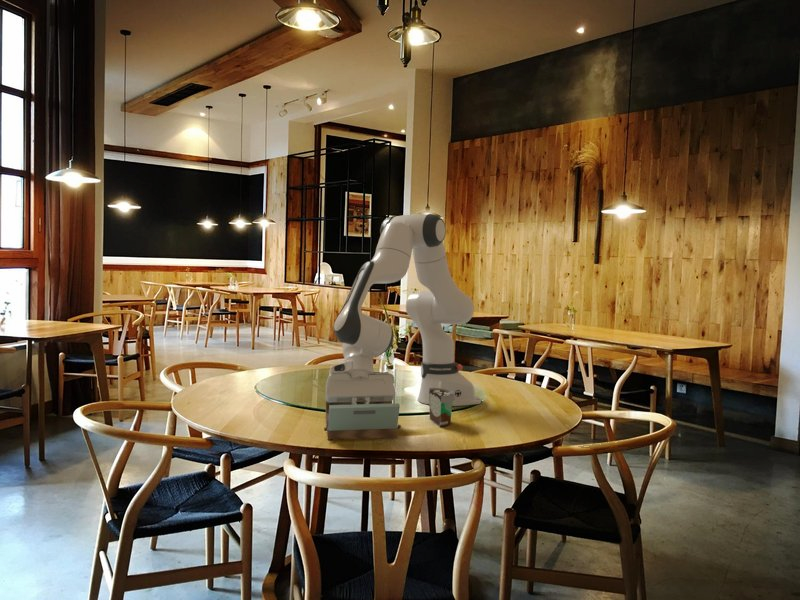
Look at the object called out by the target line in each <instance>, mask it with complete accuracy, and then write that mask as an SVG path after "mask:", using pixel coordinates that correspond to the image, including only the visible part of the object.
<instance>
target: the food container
mask: <svg viewBox="0 0 800 600" xmlns="http://www.w3.org/2000/svg"><path fill="white" fill-rule="evenodd" d="M454 400H455V397H454V394H453V392H452V391H451V390H448V389H442V388H429V401H430V404H429V420H430V421H431V422H432V423H433V424H435V425H436V426H437V427H439V428H445V427H449V426H451V422H452V419H451V418H452V409H453V406H452V402H453V401H454Z"/></svg>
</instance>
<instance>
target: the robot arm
mask: <svg viewBox="0 0 800 600" xmlns="http://www.w3.org/2000/svg"><path fill="white" fill-rule="evenodd" d="M446 231H447V230H446V224H445V221H444V219H443V218H442V217H441V216H440V215H437V214H433V213H428V214H424V213H411V214H403V215H393V216H389V217H386V218H385V219H384V220H383V221H382V222H381V225H380V228H379V234H380V236H379V239H378V243H377V245H376V248H375V253H374V255H373V257H372V259H371V260H370V261H366V262H364V264H362V265H361V267H360V269H359V271H358V272H357V275H356V277H355V279H354V281H353V283H352V285H351V288H350V290H349V293H348V295H347V297H346V299H345V301H344V303H343V306H342V307H341V310H340V312H339V313H338V314H337V317H336V318H335V321H334V324H333V332H334V335H335V337H336V339H337V340H338V341H339V342H340V343H342V355H343V358H344V360H343V362H342V363H338V364H335V365H332V366H330V369H329V373H328V377H327V379H326V383H325V390H324V391H325V394H324V395H325V396H324V399H325V402H326V401H327V402H329V403H330V402H352V405H356V404H357V402H365V404H370V402H380V401H392V402H393V400H394V399H395V398H396V390H395V377H394V375H393V374H392V373H389V372H388V371H385V372H384V371H383V372H382V371H375V370H374V362H373V359H374V358H377V357H379V356H381V355H383V354H384V353H385V352H387V351H389V349H391V347H392V346H393V343H394V330H393V327H392V325H391V324H389V323H388V322H385V321H384V320H380V319H378V318H375V317H372V316H369V315H367V314H366V313H365V314H364V313H363V311H362V307H363V304H364V302H365V299H366V297H367V295H368V293H369V290H370V288H371V287H372V286H373V285H375V284H376V285H377V284H382V285H383V284H386V285H387V284H391V283H396V282H399V281H400V280H402V279H403V278H404V277H405V276H406V274H407V273H408V270H409V267H410V262H411V257H412V255H413V261H414V267H415V270H416V272H415V273H416V278H417V280H418V282H419V283H420V284H421V285H422V286H424V287H425V288H427V289H428V290H429V291H426V290H425V291H424V290H423V291H417V292H412V293H410V295H409V296H408V297H407V299H406V302H405V311H406V313H407V316H408V318H410V319H411V320H412V321H413V322H414V323H415V325H416V327H417V328H418V331H419V333H420V336H421V337H420V338H421V341H422V361H421V365H420V376H421V384H420V389H419V395H418V396H417V401H418V402H419V403H421V404H424V405H425V404H426V405H430V401H429V388H442V389H448V390H451V391H452V392H453V394H454V397H455V400H454V401H453V402H452V407H460V406H461V407H462V406H470V405H471V406H472V405H473V406H474V405H480V404H482V399H481V397H480V396H479V395H477V394H475V393H476V392H475V387H474V384H473V383H472V382H471V380H469V379H468V378H467V377H465V376H464V375H463V374H461V373H460V372H459V371H462V370H463V368H464V366H463V365H462V364H461V363H458V362H456V361H455V342H454V339H453V337H452V336H451V335H449V334H448V333H446V332H445V330H444V328H443V326H442V324H445V325H446V324H447V325H461V324H466V323H468V322H469V321H470V320H471V319H472V318H473V316H474V312H475V307H474V302H473V300H472V298H471V297H470V296H469V295H467V294H465V293H464V292H463V291H462V290H461V289H460V288H459V287H458V285H457V283H455V281H454V279H453V278H452V275H451V273H450V268H449V263H448V258H447V254H446V249H445V244H444V240H445V239H446Z"/></svg>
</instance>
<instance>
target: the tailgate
mask: <svg viewBox="0 0 800 600" xmlns="http://www.w3.org/2000/svg"><path fill="white" fill-rule="evenodd" d="M400 408H401V407H400V403H396V402H395V403H392V404H356V405H329V426H328V429H329V431H333V430H363V429H394V428H397V429H398V425H399V424H398V423H399V415H400Z"/></svg>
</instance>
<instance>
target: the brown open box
mask: <svg viewBox="0 0 800 600" xmlns="http://www.w3.org/2000/svg"><path fill="white" fill-rule="evenodd" d="M357 404H365V402H357ZM370 404H393V401H380V402H370ZM329 405H352V402H330V403H329V402H327V401H326V400H325V427H323V428H324V429H323V431H324V432H326V431H327V432H326V438H327V437H328V438H327V440H328V439H344V440H364V439H365V440H369V439H396V438H398V429H402V425H401V424H397V428H394V429H363V430H333V431H329V429H328V426H329Z"/></svg>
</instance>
